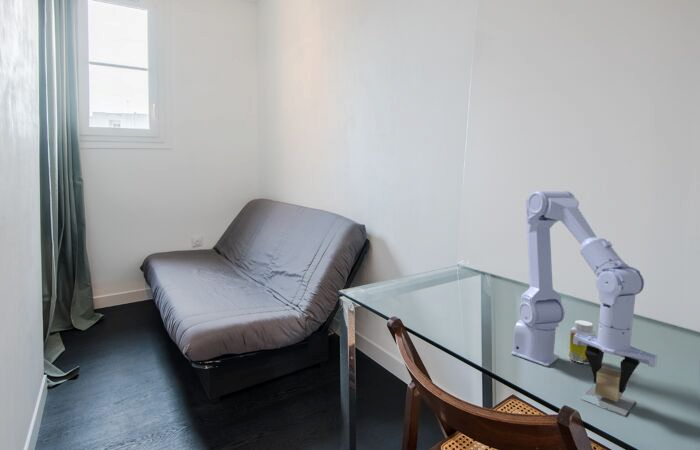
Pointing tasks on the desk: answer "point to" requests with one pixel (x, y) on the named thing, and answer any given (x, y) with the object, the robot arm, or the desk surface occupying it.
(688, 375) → the desk surface
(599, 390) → the oak block
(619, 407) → the pad
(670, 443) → the desk surface
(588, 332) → the supplement bottle
